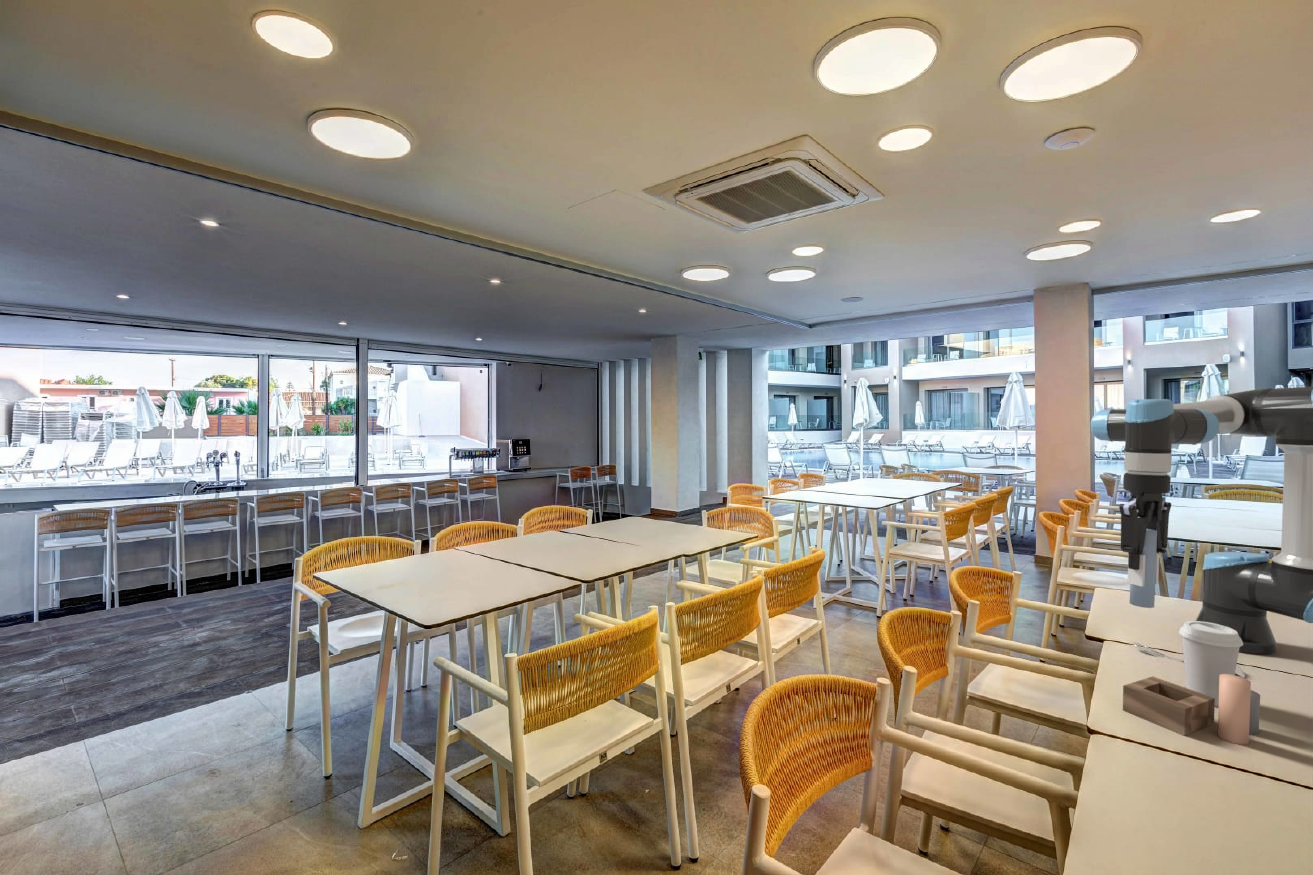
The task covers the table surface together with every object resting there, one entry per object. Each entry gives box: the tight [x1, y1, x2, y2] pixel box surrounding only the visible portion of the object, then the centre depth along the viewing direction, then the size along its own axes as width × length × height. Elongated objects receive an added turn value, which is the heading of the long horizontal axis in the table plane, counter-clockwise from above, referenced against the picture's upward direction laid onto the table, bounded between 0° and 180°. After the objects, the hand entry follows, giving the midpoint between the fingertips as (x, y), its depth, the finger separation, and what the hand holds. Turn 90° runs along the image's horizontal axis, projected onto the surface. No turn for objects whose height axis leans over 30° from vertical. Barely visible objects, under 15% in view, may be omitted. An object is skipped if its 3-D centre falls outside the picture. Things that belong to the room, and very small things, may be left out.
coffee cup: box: [1178, 620, 1243, 708], centre depth 119 cm, size 10×10×15 cm
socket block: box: [1122, 675, 1216, 737], centre depth 112 cm, size 10×10×5 cm
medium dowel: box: [1217, 674, 1252, 746], centre depth 105 cm, size 4×4×11 cm
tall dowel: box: [1129, 529, 1157, 609], centre depth 122 cm, size 4×4×16 cm
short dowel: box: [1249, 690, 1261, 735], centre depth 108 cm, size 4×4×7 cm
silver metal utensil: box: [1132, 642, 1246, 679], centre depth 137 cm, size 20×4×5 cm
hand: (1142, 583), depth 122 cm, fingers closed on tall dowel, 4 cm apart
